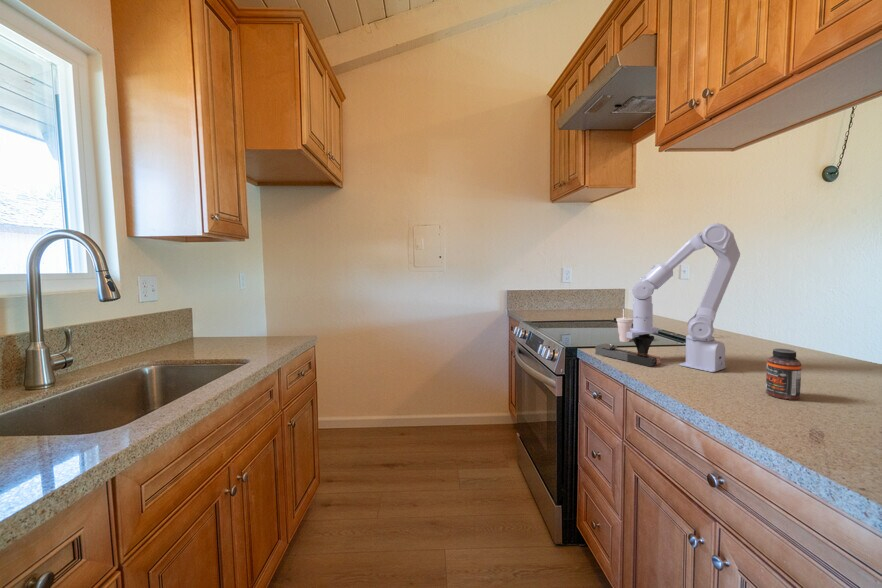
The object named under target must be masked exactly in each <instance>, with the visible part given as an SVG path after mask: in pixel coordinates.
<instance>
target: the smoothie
mask: <svg viewBox="0 0 882 588" xmlns="http://www.w3.org/2000/svg"><path fill="white" fill-rule="evenodd" d="M615 320H616V322H617V323H616V324H617V331H618V337H619V342H622V343H629V342H630V341H631V338H627V332H629V331H630V329H631V328H633V317H625V308H622V317H617V318H615Z"/></svg>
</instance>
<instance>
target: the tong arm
mask: <svg viewBox="0 0 882 588" xmlns="http://www.w3.org/2000/svg"><path fill="white" fill-rule="evenodd" d="M612 350H617V351H622V352H626V353H633V354H637V355H642V356H647V357H652V358H655V366H658V365H659V366H660V365H661V356H658V355H653V354H644V353H639V352H638V351H631V350H627V349H621V348H614V349H612Z"/></svg>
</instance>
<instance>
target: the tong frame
mask: <svg viewBox="0 0 882 588" xmlns="http://www.w3.org/2000/svg"><path fill="white" fill-rule="evenodd" d="M614 348H616V349H619V347H618V345H616V344H615V343H609V344H608V343H603V344H598V345H595V348H594V349H595V351H594V352H595V355H598V356H603V357H609V358H614V359H618V360H620V361H625V362H629V363H634V364H636V365H637V364H638V365H642V366H646V367H650V368H652V367H655V366H656V365H655V358H652V357H647V356H642V355H637V354H633V353H626V352H622V351H617V350H612V349H614Z"/></svg>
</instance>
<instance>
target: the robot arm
mask: <svg viewBox="0 0 882 588" xmlns="http://www.w3.org/2000/svg"><path fill="white" fill-rule="evenodd" d="M706 247H709V248H711V250H712V251H713V253H714V254H715V255H716V256H717V261H716V264H715V266H714V268H713V271H712V273H711V276H710V279H709V281H708V284H707V286H706V289H705V291H704V293H703V296H702V297H701V301H700V303H699V304H698V305H699V306H698V307H697V309H696V311H695V313H694V316H692V317H691V318H690V319H689V320H688V322H687V333H688V334H687V335H686V336H685V361H683V362H681V363H679V366H682V367H685V368H691V369H696V370H701V371H704V372H705V371H706V372H710V373H716V372H718V371H721V370H725V369H726V368H727V366H726V346H725V343H724V342H721V341H718V340H715V336H713V335H714V332H715V331H714V330H715V329H714V322H715V318H716V315H717V312H718V310H719V307H720V304H721V302H722V300H723V297H724V295H725V293H726V291H727V288H728V286H729V283H730V281H731V279H732V277H733V274H734V271H735V269H736V267H737V265H738V262H739V259H740V258H741V252H740V250H739V247H738V244H737V241H736V239H735V236H734V233H733V232H732V231H731V230H730V229H729V228H728V226H727V225H725V224H723V223H719V222H718V223H717V222H716V223H711V224H709V225H707V226H706V227H705V228H704V229H703V231H699V232H698V233H696V234H695V235H694V236H692V237H691V238H690V239H689V240H687V241H686V242H685V243H683V245H682V246H681V247H680V248H679V249H677V251H676V252H675V253H674V254H673V255H672V256H671V257H670V258H669V259H668V260H667V261H666V262H663V263H662V262H661V263H657V264H656V265H652V266H651V267H650V269H651V270H649V271H648V272H647V273H646V274H645V275H644V276H643V277H640V278H639V280H640V281H637V282H636V283H635V284H634V285H633V286H632V289H631V290H632V292H631V293H632V295H633V301H632V302H633V304H632V319H633V322H632V327H631V329H630V331H629V332H627V338H630V340H631V339H632V341H633V343H634V345H635V347H636V350H637V351H636V352H639V353H644V354H648V353H649V349H650V347H651V345H652V343H653V341H654V340H655V336H654V335H653V334H656V335H657V334H659V327H654V326H653V324H654V323H653V321H654V319H653V318H654V316H653V314H654V311H653V308H654V307H653V306H654V305H653V303H652V302H653V294H654V292H655V291H654V290H658V289H660V288H661V287H662V286H663V285H665V283H666V282H668V281H669V280H670V279H671V278H672V277H673V276H674V269H675V268H677V267H678V266H679V265H680V264H681V263H683V262H684V260H686V259H687V258H688V257H689V256H690V255H692V254H693V253H695V251H698V250H702V249H704V248H706Z"/></svg>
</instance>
